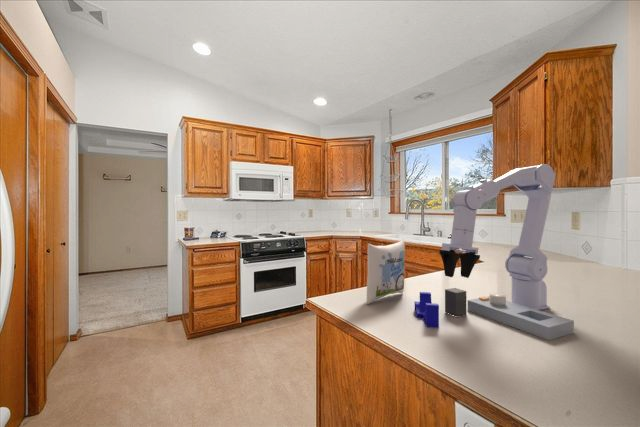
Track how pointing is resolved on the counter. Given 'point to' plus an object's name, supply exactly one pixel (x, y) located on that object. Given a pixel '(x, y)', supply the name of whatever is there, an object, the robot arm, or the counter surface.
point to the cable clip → (427, 310)
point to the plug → (455, 301)
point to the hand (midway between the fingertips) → (456, 276)
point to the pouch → (385, 270)
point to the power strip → (521, 316)
